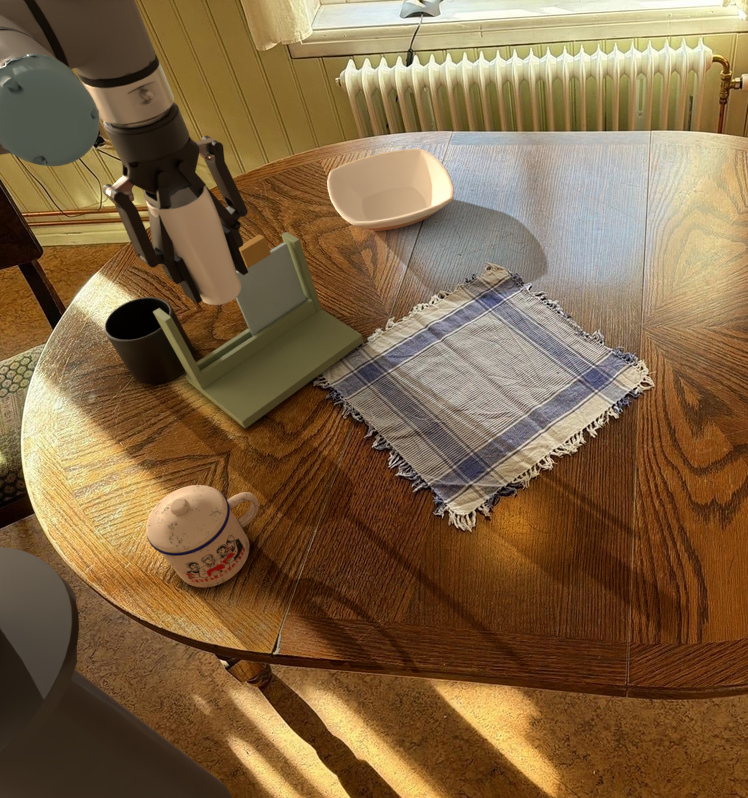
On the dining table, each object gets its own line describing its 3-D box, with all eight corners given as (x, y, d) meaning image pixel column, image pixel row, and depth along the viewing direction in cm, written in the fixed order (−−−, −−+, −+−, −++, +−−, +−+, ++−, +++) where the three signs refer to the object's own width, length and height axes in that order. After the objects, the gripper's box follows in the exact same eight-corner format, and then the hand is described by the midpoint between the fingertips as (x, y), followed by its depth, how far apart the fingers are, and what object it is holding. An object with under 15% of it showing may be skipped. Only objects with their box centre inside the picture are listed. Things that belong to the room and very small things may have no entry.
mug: (166, 324, 119) (142, 280, 112) (207, 359, 113) (185, 315, 106) (111, 356, 114) (82, 313, 107) (151, 395, 109) (123, 351, 102)
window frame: (245, 429, 104) (206, 354, 93) (188, 382, 110) (146, 306, 99) (363, 342, 115) (342, 265, 103) (306, 304, 121) (280, 227, 110)
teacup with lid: (195, 605, 87) (154, 556, 78) (163, 554, 91) (121, 501, 83) (286, 544, 92) (258, 491, 83) (252, 498, 96) (221, 443, 88)
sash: (258, 346, 113) (222, 262, 100) (253, 342, 113) (217, 258, 101) (310, 310, 117) (282, 226, 105) (306, 307, 118) (277, 223, 106)
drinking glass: (209, 274, 98) (162, 173, 87) (257, 278, 97) (216, 178, 86) (184, 308, 94) (132, 208, 82) (234, 314, 93) (189, 213, 82)
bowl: (324, 192, 142) (317, 167, 138) (432, 165, 147) (429, 141, 143) (351, 257, 128) (344, 232, 124) (469, 226, 134) (466, 200, 130)
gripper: (69, 163, 70) (166, 338, 88) (238, 85, 80) (296, 257, 97) (31, 138, 74) (133, 311, 91) (198, 66, 83) (261, 235, 101)
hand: (217, 283), depth 94 cm, fingers closed on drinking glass, 6 cm apart
